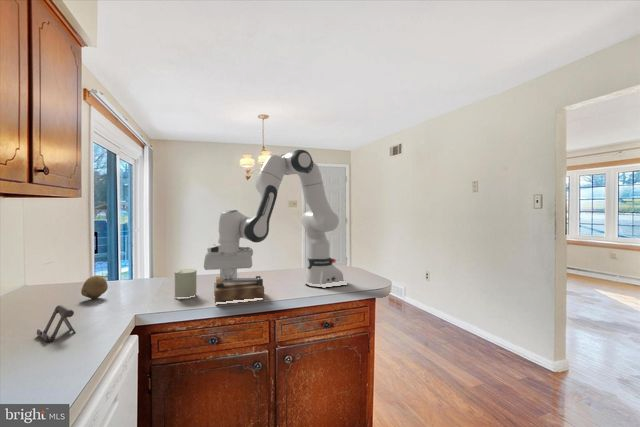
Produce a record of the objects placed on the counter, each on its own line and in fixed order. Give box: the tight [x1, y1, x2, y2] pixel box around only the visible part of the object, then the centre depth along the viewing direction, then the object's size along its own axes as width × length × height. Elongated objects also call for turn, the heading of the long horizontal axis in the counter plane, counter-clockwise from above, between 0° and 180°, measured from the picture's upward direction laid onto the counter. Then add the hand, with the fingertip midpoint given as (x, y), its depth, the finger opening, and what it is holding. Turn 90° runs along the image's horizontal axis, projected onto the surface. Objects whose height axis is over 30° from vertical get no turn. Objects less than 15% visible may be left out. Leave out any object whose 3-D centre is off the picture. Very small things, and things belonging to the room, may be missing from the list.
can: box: [174, 268, 198, 297], centre depth 139 cm, size 9×9×12 cm
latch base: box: [213, 275, 265, 304], centre depth 137 cm, size 20×14×8 cm
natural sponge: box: [80, 275, 109, 300], centre depth 134 cm, size 9×9×10 cm
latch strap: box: [215, 276, 260, 283], centre depth 137 cm, size 19×4×2 cm, turn 110°
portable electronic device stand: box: [36, 304, 76, 344], centre depth 97 cm, size 9×8×8 cm
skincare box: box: [219, 269, 238, 278], centre depth 154 cm, size 8×7×16 cm
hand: (228, 279), depth 135 cm, fingers closed
